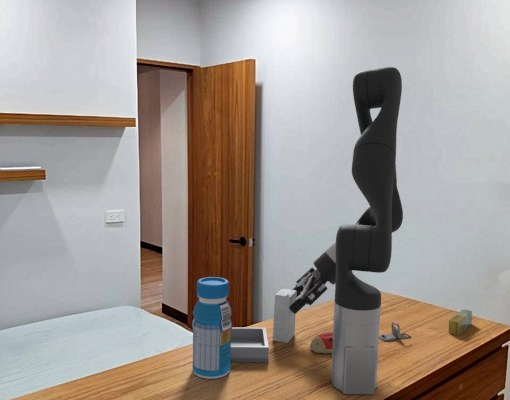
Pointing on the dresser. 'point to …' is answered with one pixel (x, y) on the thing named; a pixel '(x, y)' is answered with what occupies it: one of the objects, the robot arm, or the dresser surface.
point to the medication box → (460, 322)
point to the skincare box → (284, 316)
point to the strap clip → (394, 334)
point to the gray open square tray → (249, 345)
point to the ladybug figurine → (322, 343)
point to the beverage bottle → (212, 329)
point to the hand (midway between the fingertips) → (289, 305)
